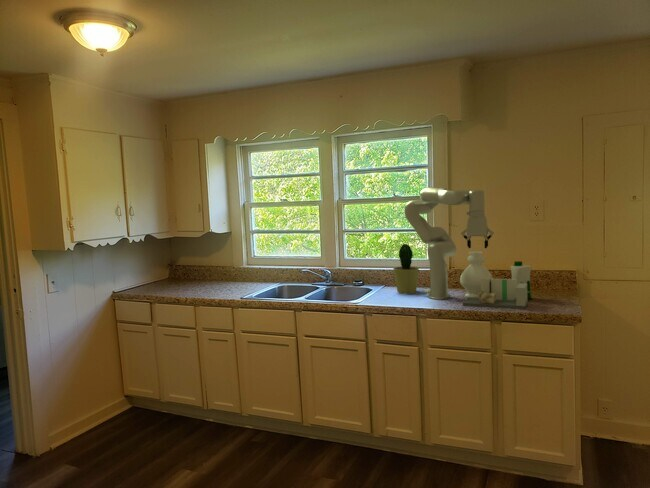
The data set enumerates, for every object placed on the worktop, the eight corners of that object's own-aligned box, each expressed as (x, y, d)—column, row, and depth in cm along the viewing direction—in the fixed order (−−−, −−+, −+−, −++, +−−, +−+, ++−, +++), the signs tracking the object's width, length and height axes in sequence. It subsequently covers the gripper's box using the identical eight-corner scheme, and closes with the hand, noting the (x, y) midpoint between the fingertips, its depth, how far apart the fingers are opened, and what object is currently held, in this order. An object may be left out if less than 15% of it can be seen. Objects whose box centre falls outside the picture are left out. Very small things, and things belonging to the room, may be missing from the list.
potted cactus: (389, 291, 305) (387, 243, 302) (412, 288, 309) (410, 241, 306) (400, 295, 290) (399, 245, 287) (424, 292, 295) (422, 243, 292)
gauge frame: (463, 305, 256) (462, 282, 255) (468, 300, 267) (467, 277, 266) (524, 309, 242) (524, 284, 241) (527, 303, 254) (527, 279, 252)
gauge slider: (479, 302, 254) (478, 284, 253) (482, 298, 262) (482, 281, 261) (493, 303, 250) (493, 285, 249) (496, 299, 259) (496, 281, 258)
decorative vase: (500, 296, 273) (499, 252, 271) (474, 300, 267) (473, 254, 265) (479, 291, 290) (478, 249, 288) (454, 295, 283) (452, 252, 281)
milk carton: (522, 296, 270) (522, 260, 268) (533, 299, 261) (533, 262, 260) (509, 298, 268) (508, 261, 266) (519, 301, 259) (519, 263, 257)
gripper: (458, 215, 253) (459, 248, 255) (493, 214, 245) (494, 249, 247) (461, 214, 260) (462, 247, 262) (495, 213, 252) (496, 247, 254)
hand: (477, 247), depth 254 cm, fingers open, 7 cm apart
